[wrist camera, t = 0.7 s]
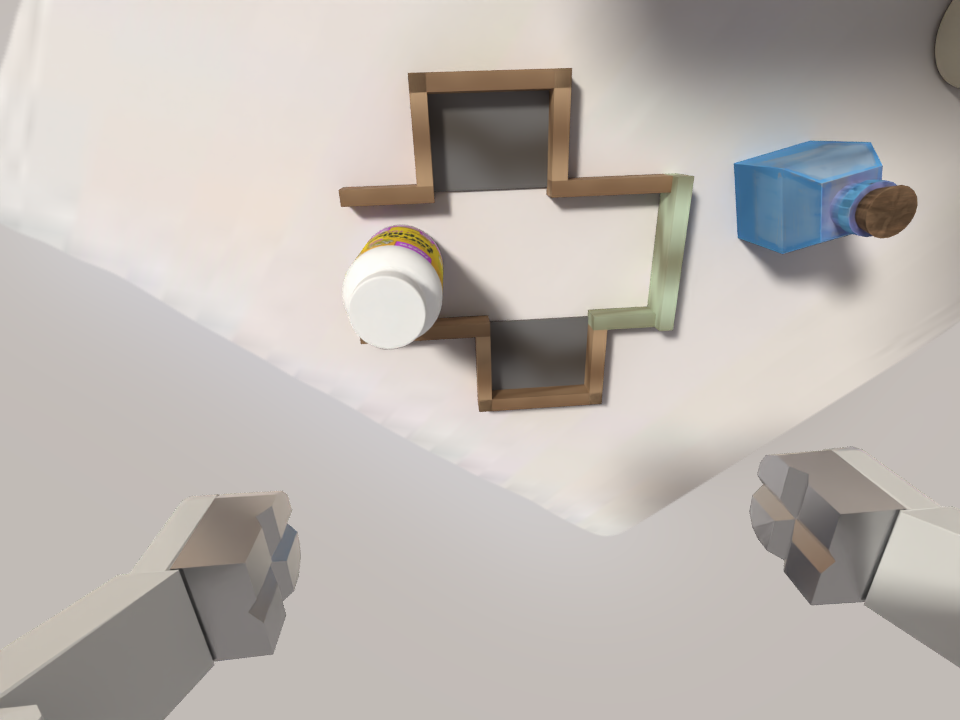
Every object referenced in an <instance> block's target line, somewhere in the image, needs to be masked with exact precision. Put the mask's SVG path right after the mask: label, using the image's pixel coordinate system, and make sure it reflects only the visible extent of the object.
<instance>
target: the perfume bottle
mask: <svg viewBox="0 0 960 720" xmlns="http://www.w3.org/2000/svg"><path fill="white" fill-rule="evenodd" d="M882 168H883V165H882V164H881V162H880V160H879V158H878V156H877V154H876V152H875V150H874V148H873V146H872V144H871V142H839V141H808V142H804V143H801V144H798V145H794V146H791V147H788V148H784V149H781V150H777V151H774V152H771V153H767V154H764V155H761V156H757V157H754V158H751V159H747V160H744V161H740V162H737V163H734V174H735V193H736V212H737V232H738V238H740V239H742V240H745V241H748V242H751V243H754V244H756V245H759V246H762V247H765V248H768V249H770V250H773V251H776V252H779V253H782V254H784V253H788V252H791V251H795V250H798V249H802V248H805V247H809V246H812V245H816V244H819V243H823V242H826V241H829V240H833V239H836V238H840V237H843V236H847V235H850V234H855V235H859V236H863V237H869V236H874V237H877V238H889V237H892V236H894V235H896V234H898V233H899V232H901V231H902V230H903V229H905V228H906V227H907V225H908V224H909V223H910V222H911V220H912V219H913V217H914V215H915V213H916V209H917V196H916V194H915V192H914V190H912V189H911V188H910V187H908V186H904V185H898V186H897V185H896V184H895V183H894V182H890V181H885V180H882Z"/></svg>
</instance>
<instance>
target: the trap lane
mask: <svg viewBox="0 0 960 720" xmlns="http://www.w3.org/2000/svg"><path fill="white" fill-rule="evenodd" d="M571 80H572V68H558V69H525V70H491V71H458V72H425V73H408V82H409V94H410V106H411V118H412V131H413V143H414V155H415V167H416V180H417V184H412V185H388V186H364V187H343V188H341V189H340V190H339V196H340V203H341V207H349V206H372V205H395V204H417V203H434V200H435V198H434V192H443V191H467V190H490V189H513V188H537V187H547V195H548V196H550V197H551V198H554V197H577V196H600V195H623V194H646V193H660V200H659V209H658V217H657V226H656V235H655V244H654V253H653V261H652V270H651V279H650V288H649V297H648V305H647V307H630V308H613V309H595V310H588V316H583V317H565V318H547V319H530V320H512V321H495V322H490V321H489V318H488V316H470V317H452V318H437V320H436V321H435V323H434V324H433V325H432V327H431V328H430V329H429V330H428V331H427V332H425V333H424V334H423V335H421V336H420V337H418V338H416V339H415V340H414V341H422V340H439V339H456V338H473V337H475V343H476V368H477V393H478V406H479V412H486V411H501V410H516V409H531V408H546V407H561V406H576V405H591V404H601V402H602V389H603V377H604V364H605V352H606V339H607V330H610V329H628V328H645V327H655V328H656V329H657V330H658V331H669V330H673V326H674V318H675V311H676V304H677V297H678V290H679V282H680V275H681V268H682V261H683V254H684V247H685V239H686V232H687V225H688V218H689V211H690V203H691V196H692V189H693V182H694V176H689V175H683V174H677V173H675V174H651V175H627V176H603V177H579V178H568V158H569V132H570V106H571ZM360 341H361V344H368V343H366V342H365V341H364V340H362V339H361V338H360Z"/></svg>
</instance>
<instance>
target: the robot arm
mask: <svg viewBox="0 0 960 720" xmlns="http://www.w3.org/2000/svg"><path fill="white" fill-rule="evenodd" d="M757 475H758V477H759V478H760V480H761V481H762V483H763V485H762V486H761V487H760V488H759V489H758V490H757V491H756V492H755V494H754V495H753V496H752V501H751V506H750V516H751V522H752V527H753V529H754V531H755V534H756V535H757V538H758V540H759V541H760V542H761V543H762V545H763V546H764V547H765V549H766V550H767V551H769V552H770V553H772V554H774V555H776V556H778V557H780V558H781V559H783V560H784V572H785V574H786V575H787V576H788V577H789V579H790V580H791V581H792V582H793V584H794V585H795V586H796V587H797V589H798V590H799V591H800V592H801V594H802V595H803V596H804V597H805V599H806V600H807V601H808V602H809V603H810V605H823V604H839V603H855V602H865V603H864V605H865V606H867V607H868V608H870V609H871V610H873V611H874V612H876V613H877V614H879V615H880V616H882V617H883V618H885V619H886V620H888V621H889V622H891V623H893V624H894V625H895V626H897V627H898V628H900V629H902V630H903V631H905V632H906V633H908V634H909V635H911V636H912V637H914V638H915V639H917V640H918V641H920V642H921V643H923V644H924V645H926V646H927V647H929V648H930V649H932V650H934V651H935V652H936V653H938V654H940V655H941V656H943V657H944V658H946V659H947V660H949V661H950V662H952V663H953V664H955V665H956V666H958V667H959V668H960V509H958V508H955V507H952V506H951V507H942V506H940V505H939V504H937V503H936V502H935V501H933V500H932V499H931V498H929V497H928V496H926V495H925V494H924V493H922V492H921V491H920V490H918V489H917V488H915V487H914V486H913V485H911V484H910V483H908V482H907V481H906V480H904V479H903V478H902V477H900V476H899V475H897V474H896V473H895V472H893V471H892V470H890V469H889V468H888V467H886V466H885V465H884V464H882V463H881V462H879V461H878V460H877V459H875V458H874V457H872V456H871V455H870V454H868V453H867V452H865V451H864V450H862V449H859V448H855V447H842V448H833V449H824V450H822V451H811V452H799V453H786V454H773V455H766V456H765V457H764V458H763V460H762V461H761V463H760V466H759V470H758V474H757ZM291 512H292V508H291V505H290V502H289V498H288V495H287V494H286V493H285V492H283V491H270V492H269V491H268V492H249V493H230V494H221V495H218V494H216V495H203V496H190V497H188V498H186V499H184V500H182V502H181V503H180V504H179V506H178V507H177V508H176V510H175V511H174V512H173V514H172V515H171V517H170V518H169V519H168V521H167V522H166V523H165V525H164V526H163V528H162V529H161V530H160V532H159V533H158V534H157V536H156V537H155V539H154V540H153V541H152V543H151V544H150V546H149V547H148V548H147V550H146V551H145V552H144V554H143V555H142V556H141V558H140V559H139V561H138V562H137V563H136V565H135V566H134V567H133V569H132V570H131V572H130V573H129V574H121V575H117V576H115V577H114V578H112V579H111V580H109V581H108V582H106V583H104V584H103V585H101V586H100V587H98V588H97V589H95V590H93V591H92V592H90V593H89V594H87V595H86V596H84V597H82V598H81V599H79V600H78V601H76V602H75V603H73V604H72V605H70V606H68V607H67V608H66V609H64V610H62V611H61V612H59V613H57V614H56V615H54V616H53V617H51V618H50V619H48V620H47V621H45V622H43V623H42V624H40V625H39V626H37V627H36V628H34V629H32V630H31V631H29V632H28V633H26V634H25V635H23V636H22V637H20V638H18V639H17V640H15V641H14V642H12V643H11V644H9V645H8V646H6V647H4V648H3V649H2V650H0V720H164V719H165V718H166V717H167V716H168V715H169V713H170V712H171V711H172V710H173V709H174V708H175V707H176V706H177V705H178V704H179V703H180V702H181V701H182V699H183V698H184V697H185V696H186V695H187V694H188V693H189V692H190V691H191V690H192V689H193V687H194V686H195V685H196V684H197V683H198V682H199V681H200V680H201V679H202V678H203V677H204V676H205V675H206V673H207V672H208V671H209V670H210V669H211V668H212V667H213V666H214V661H222V660H230V659H239V658H247V657H255V656H264V655H272V654H273V653H274V650H275V647H276V644H277V641H278V638H279V635H280V631H281V629H282V626H283V623H284V620H285V617H286V612H285V609H284V605H283V601H284V600H285V599H286V598H287V597H288V596H289V595H290V594H291V593H292V592H293V591H294V589H295V586H296V583H297V580H298V576H299V568H300V560H301V553H300V542H299V537H298V533H297V531H295V529H293V528H292V527H291V526H290V525H288V524H287V522H288V520H289V517H290V515H291Z"/></svg>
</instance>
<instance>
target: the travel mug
mask: <svg viewBox="0 0 960 720" xmlns="http://www.w3.org/2000/svg"><path fill="white" fill-rule="evenodd" d="M935 59H936V64H937V68H938V70H939V73H940V74H941V76H942V77H943V79H944V80H945V81H946V82H947V83H949V84H950V85H952V86H954V87H956V88H960V0H953V1H952V2H951V4H950V6H949V7H948V9H947V11H946V13H945V15H944V17H943V19H942V21H941V24H940V27H939V30H938V33H937V38H936V44H935Z"/></svg>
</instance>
